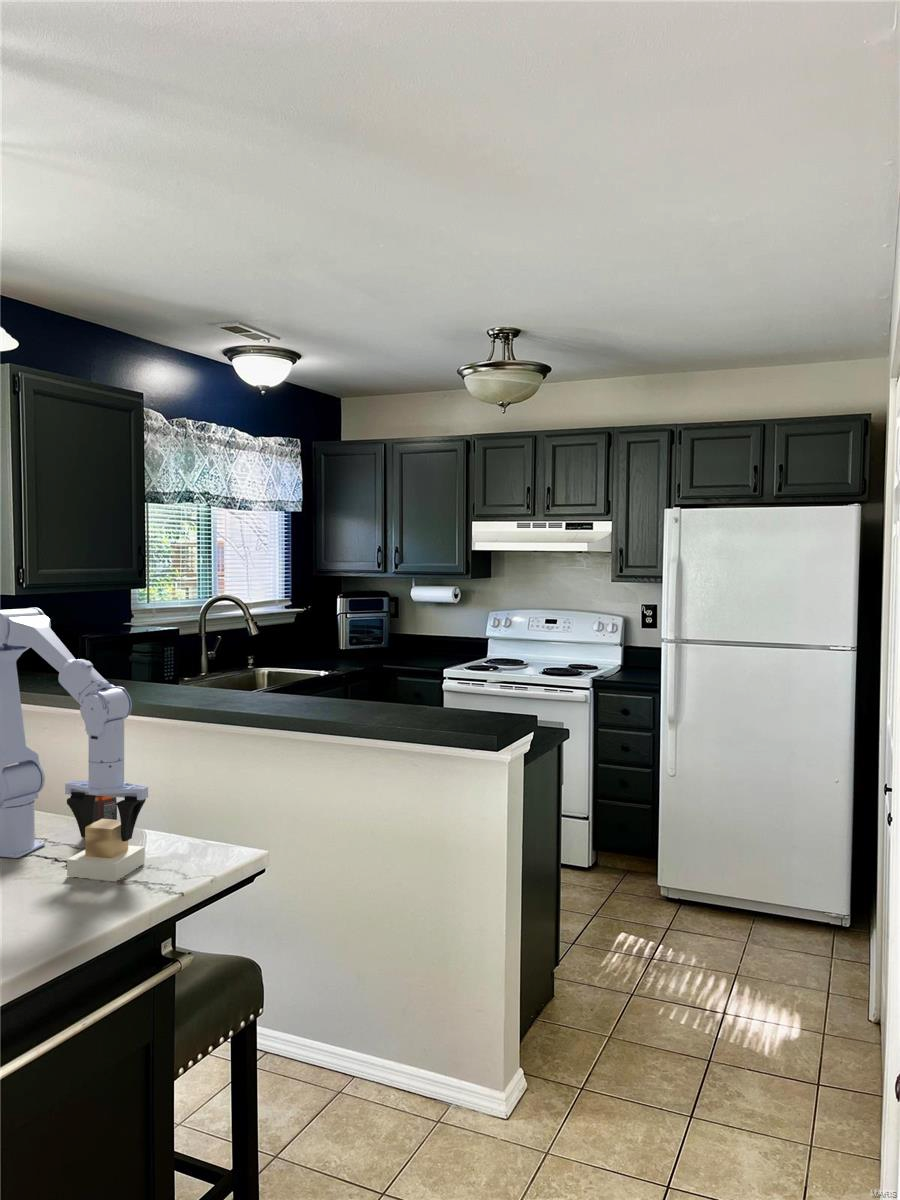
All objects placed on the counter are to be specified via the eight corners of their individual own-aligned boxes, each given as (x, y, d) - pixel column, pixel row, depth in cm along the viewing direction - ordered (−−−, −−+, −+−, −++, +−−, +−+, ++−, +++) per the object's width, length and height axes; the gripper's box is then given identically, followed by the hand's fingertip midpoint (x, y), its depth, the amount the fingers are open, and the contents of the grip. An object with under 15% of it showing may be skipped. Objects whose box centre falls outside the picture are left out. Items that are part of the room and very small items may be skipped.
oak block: (85, 856, 153) (85, 826, 152) (102, 846, 158) (102, 818, 157) (112, 858, 152) (112, 829, 151) (128, 849, 156) (128, 820, 156)
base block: (67, 876, 151) (66, 859, 151) (98, 859, 160) (98, 842, 160) (115, 881, 149) (115, 863, 149) (144, 863, 158) (144, 846, 158)
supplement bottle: (122, 830, 176) (122, 773, 176) (108, 840, 170) (108, 781, 170) (93, 829, 177) (93, 772, 176) (78, 838, 171) (78, 779, 170)
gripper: (53, 761, 151) (54, 841, 152) (132, 767, 148) (132, 848, 149) (79, 752, 158) (79, 829, 159) (154, 758, 155) (154, 835, 156)
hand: (106, 837), depth 154 cm, fingers open, 7 cm apart
